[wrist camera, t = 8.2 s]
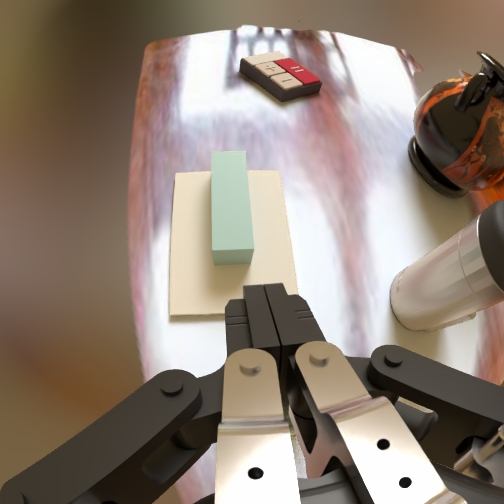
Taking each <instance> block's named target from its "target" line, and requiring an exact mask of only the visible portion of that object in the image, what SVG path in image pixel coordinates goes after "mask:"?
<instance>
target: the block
mask: <svg viewBox="0 0 504 504" xmlns="http://www.w3.org/2000/svg"><path fill="white" fill-rule="evenodd" d="M211 194H212V251H213V261H214V265H231V264H251V261H252V257H253V253H254V238H253V227H252V217H251V206H250V195H249V184H248V174H247V163H246V152H245V151H212V168H211Z"/></svg>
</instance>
